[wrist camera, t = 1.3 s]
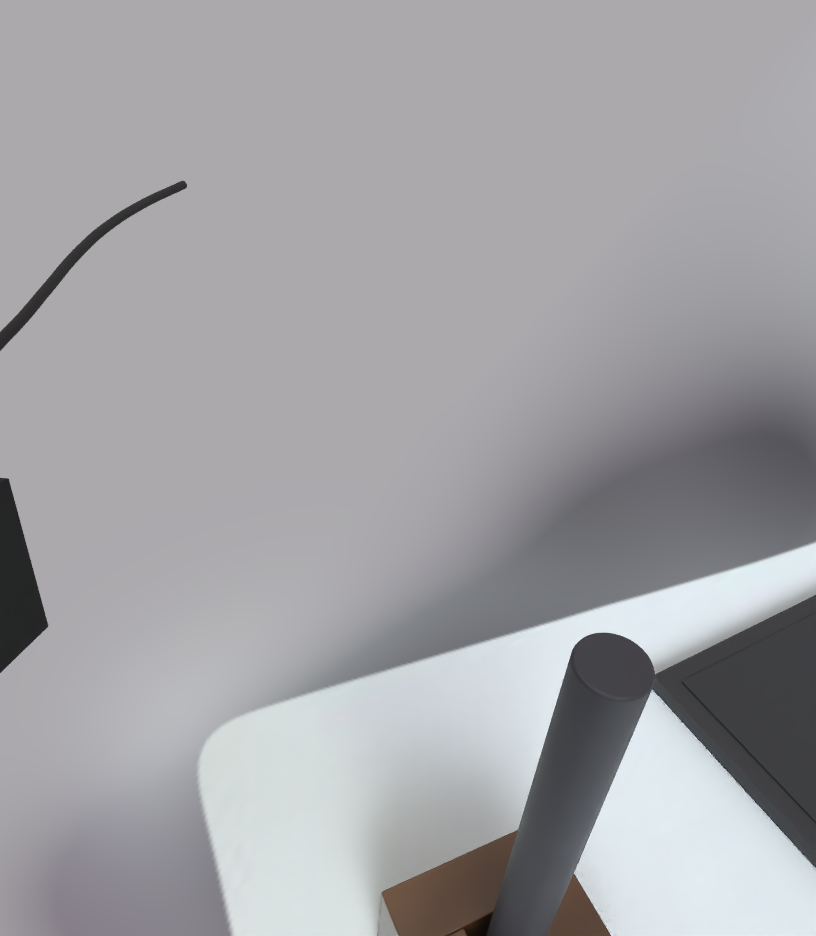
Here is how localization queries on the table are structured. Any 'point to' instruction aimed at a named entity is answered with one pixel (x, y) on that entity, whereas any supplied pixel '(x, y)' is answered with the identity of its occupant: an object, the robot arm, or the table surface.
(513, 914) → the stylus
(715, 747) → the dark grey flat block
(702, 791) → the table surface
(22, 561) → the robot arm
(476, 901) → the pen stand
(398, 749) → the table surface
